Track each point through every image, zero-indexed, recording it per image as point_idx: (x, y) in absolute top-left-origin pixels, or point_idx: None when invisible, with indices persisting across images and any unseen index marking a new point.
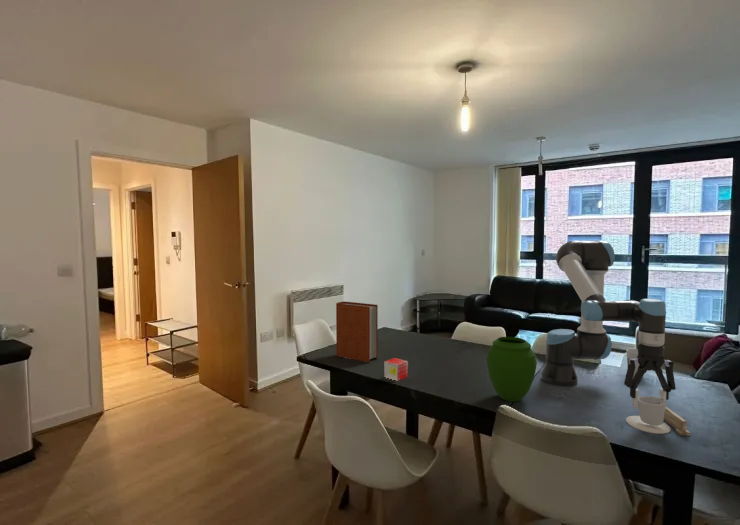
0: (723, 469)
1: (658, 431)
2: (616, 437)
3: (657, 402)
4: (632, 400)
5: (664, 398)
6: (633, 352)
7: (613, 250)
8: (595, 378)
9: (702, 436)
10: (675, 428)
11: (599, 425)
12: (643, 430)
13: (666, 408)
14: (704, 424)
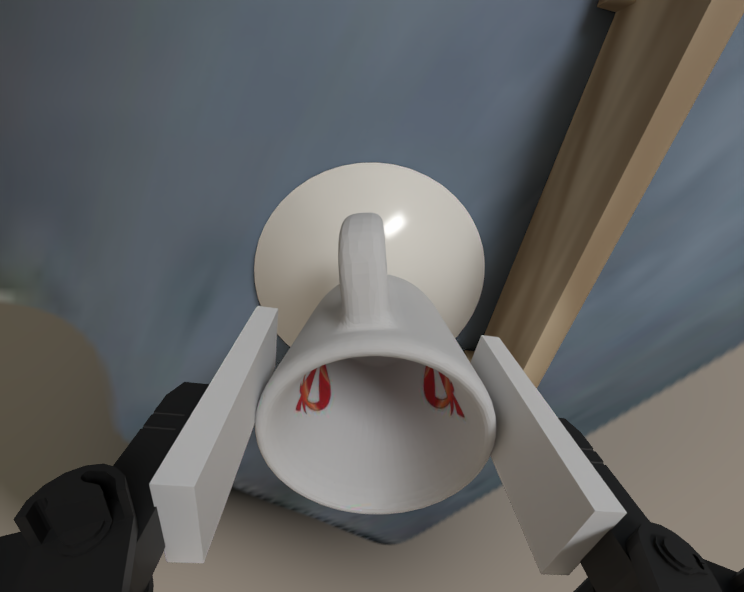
0: (394, 533)
1: None
2: (131, 401)
3: (458, 393)
4: (241, 335)
5: (508, 477)
6: None
7: None
8: None
9: (541, 385)
10: (489, 326)
11: (65, 290)
12: None
13: (589, 255)
14: (704, 276)
